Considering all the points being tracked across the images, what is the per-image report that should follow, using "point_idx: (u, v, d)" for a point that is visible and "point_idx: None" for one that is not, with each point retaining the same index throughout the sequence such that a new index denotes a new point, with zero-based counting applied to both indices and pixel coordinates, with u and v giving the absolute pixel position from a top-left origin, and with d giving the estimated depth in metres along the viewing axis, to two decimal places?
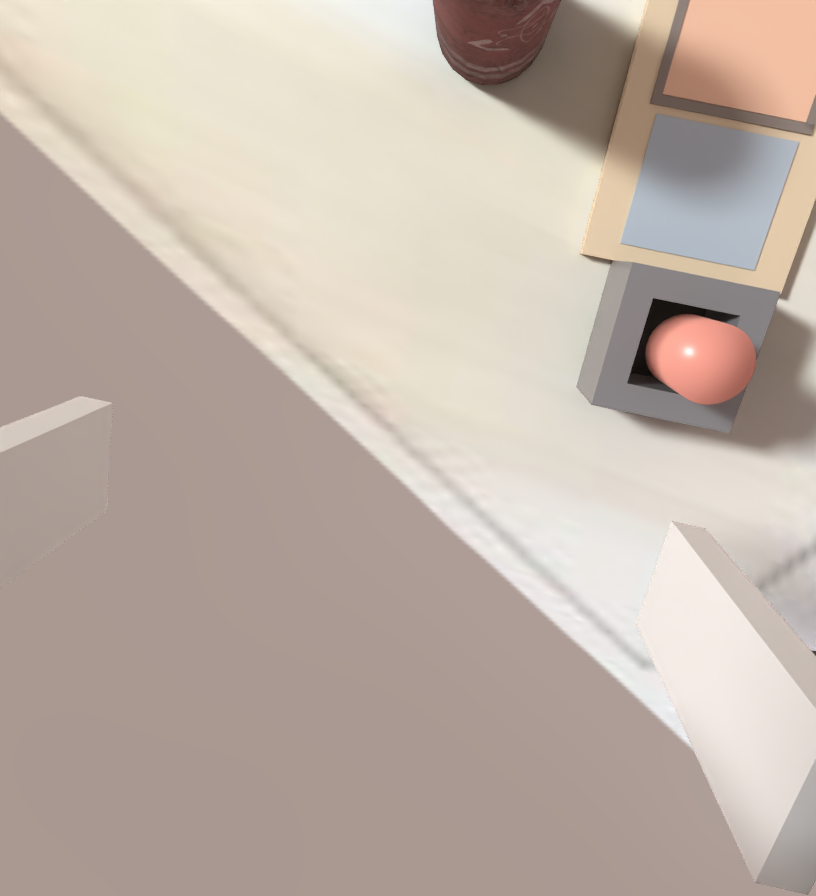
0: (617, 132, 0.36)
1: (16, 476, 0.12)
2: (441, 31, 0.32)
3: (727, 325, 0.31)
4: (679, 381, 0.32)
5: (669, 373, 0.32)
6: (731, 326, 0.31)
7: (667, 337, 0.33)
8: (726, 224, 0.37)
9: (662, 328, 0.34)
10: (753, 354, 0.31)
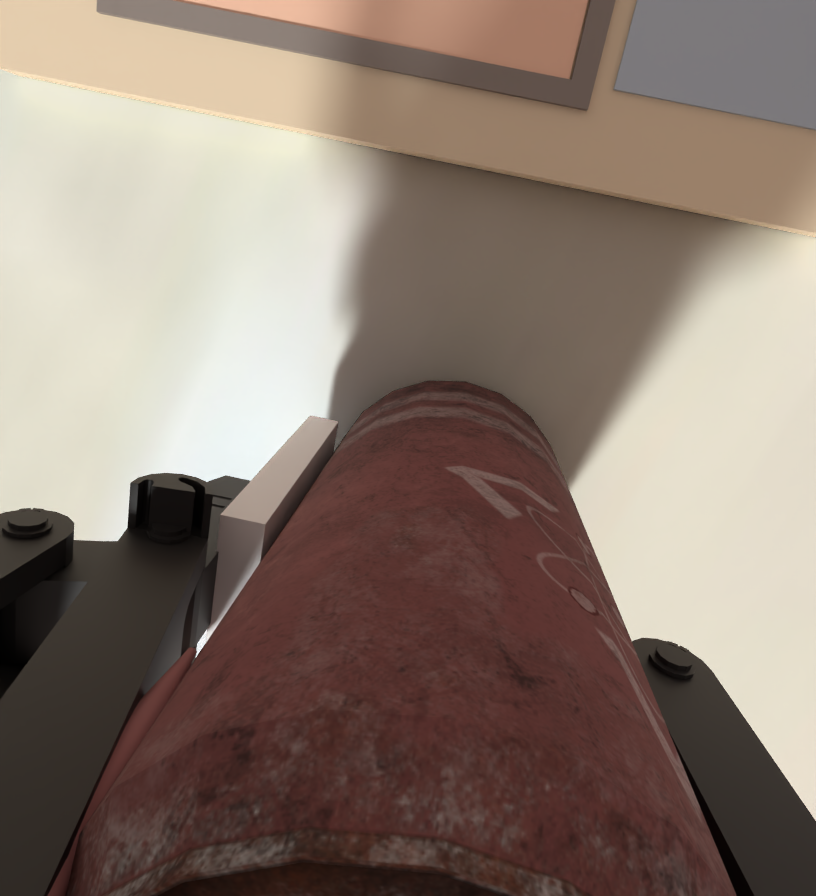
0: (645, 191, 0.15)
1: (305, 488, 0.14)
2: None
3: None
4: None
5: None
6: None
7: None
8: None
9: None
10: None
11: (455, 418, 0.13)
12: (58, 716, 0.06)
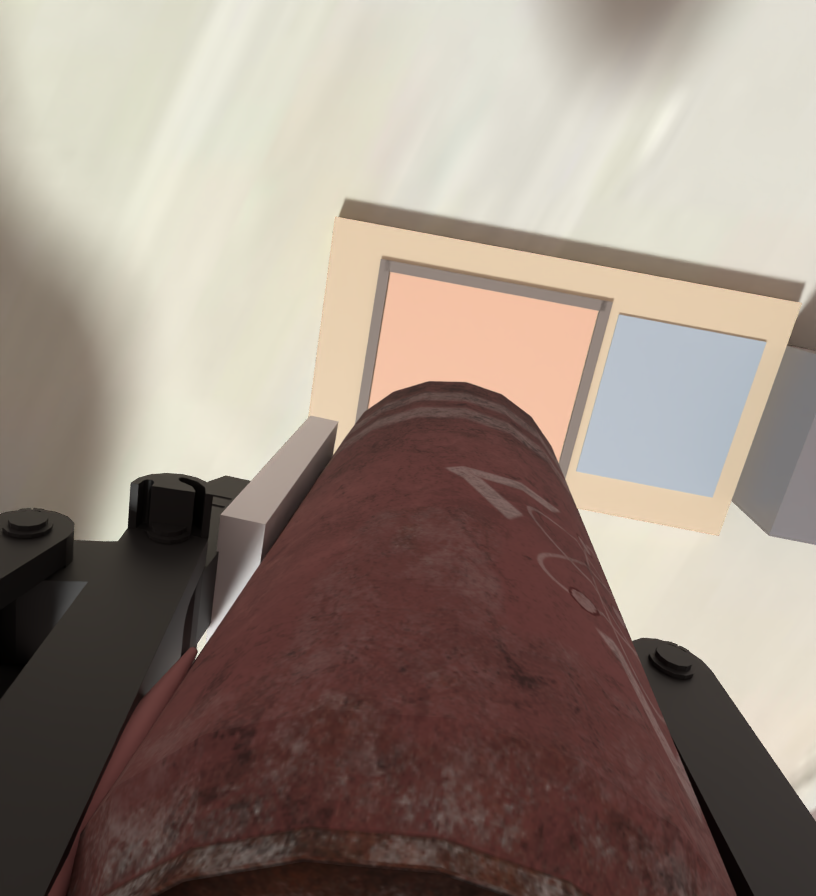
0: (591, 508, 0.33)
1: (305, 487, 0.14)
2: None
3: None
4: None
5: None
6: None
7: None
8: (705, 382, 0.31)
9: None
10: None
11: (456, 418, 0.13)
12: (58, 716, 0.06)
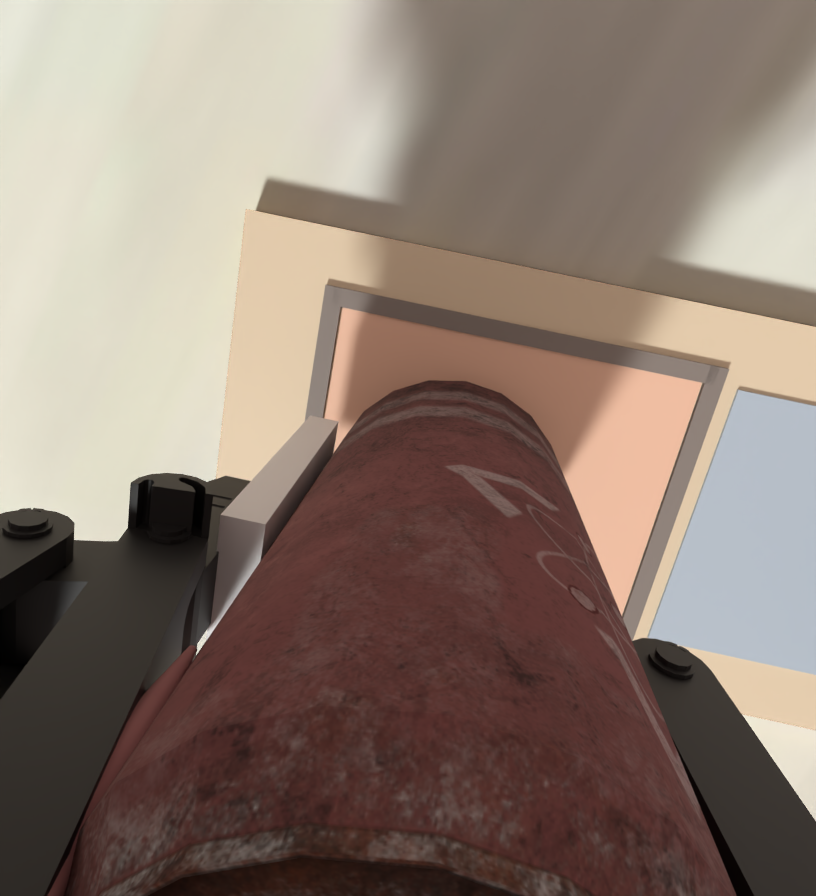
0: None
1: (305, 487, 0.14)
2: None
3: None
4: None
5: None
6: None
7: None
8: None
9: None
10: None
11: (456, 417, 0.13)
12: (58, 716, 0.06)
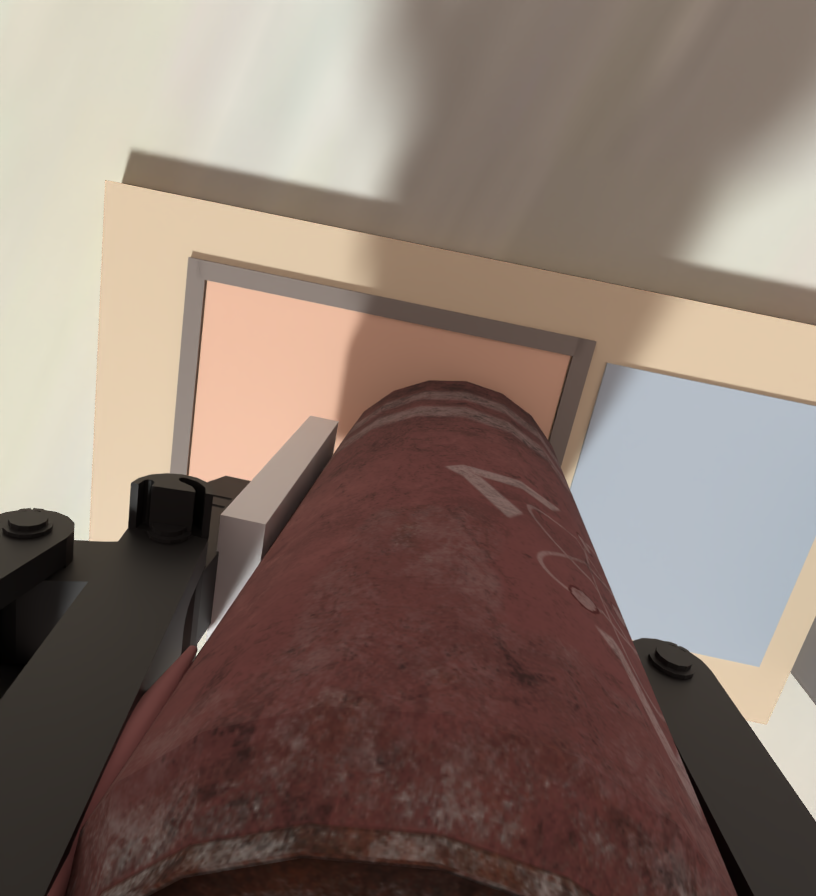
0: None
1: (305, 487, 0.14)
2: None
3: None
4: None
5: None
6: None
7: None
8: (755, 482, 0.18)
9: None
10: None
11: (456, 417, 0.13)
12: (58, 716, 0.06)
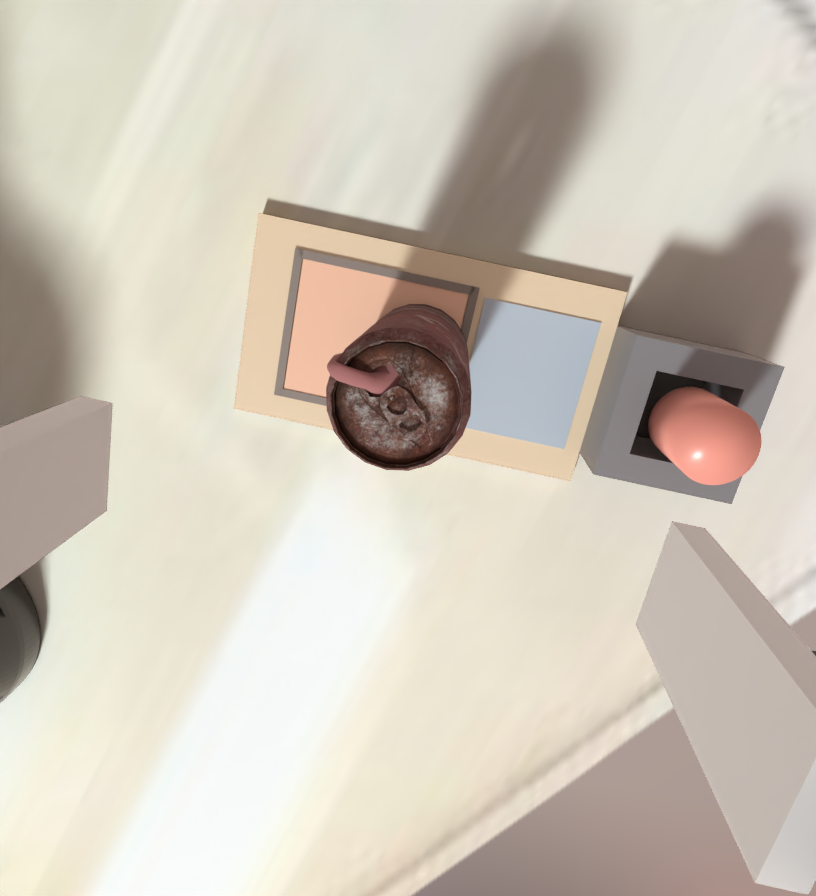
0: (468, 456, 0.41)
1: (16, 476, 0.12)
2: None
3: (679, 437, 0.31)
4: (731, 475, 0.31)
5: (721, 483, 0.32)
6: (680, 432, 0.31)
7: None
8: (554, 354, 0.39)
9: (663, 453, 0.35)
10: (712, 409, 0.31)
11: (419, 309, 0.34)
12: None
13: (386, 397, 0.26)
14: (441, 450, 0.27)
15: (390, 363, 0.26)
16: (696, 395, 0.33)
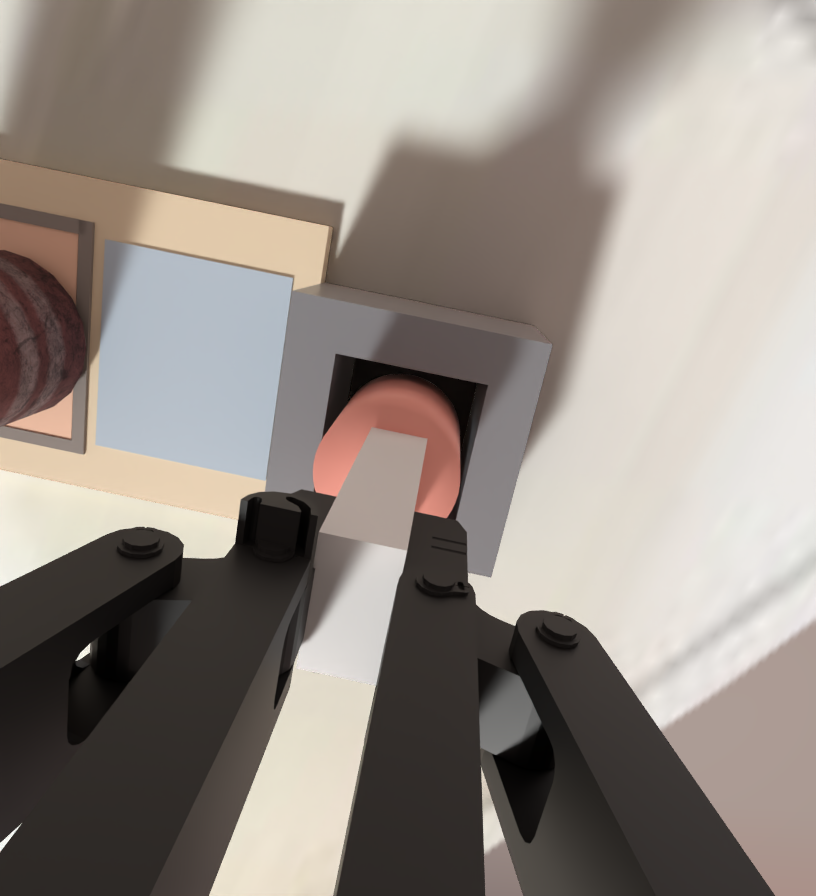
0: (125, 492, 0.27)
1: None
2: None
3: (316, 461, 0.17)
4: None
5: None
6: (318, 453, 0.17)
7: None
8: (228, 331, 0.24)
9: None
10: (365, 412, 0.17)
11: None
12: (161, 732, 0.06)
13: None
14: None
15: None
16: (380, 387, 0.19)
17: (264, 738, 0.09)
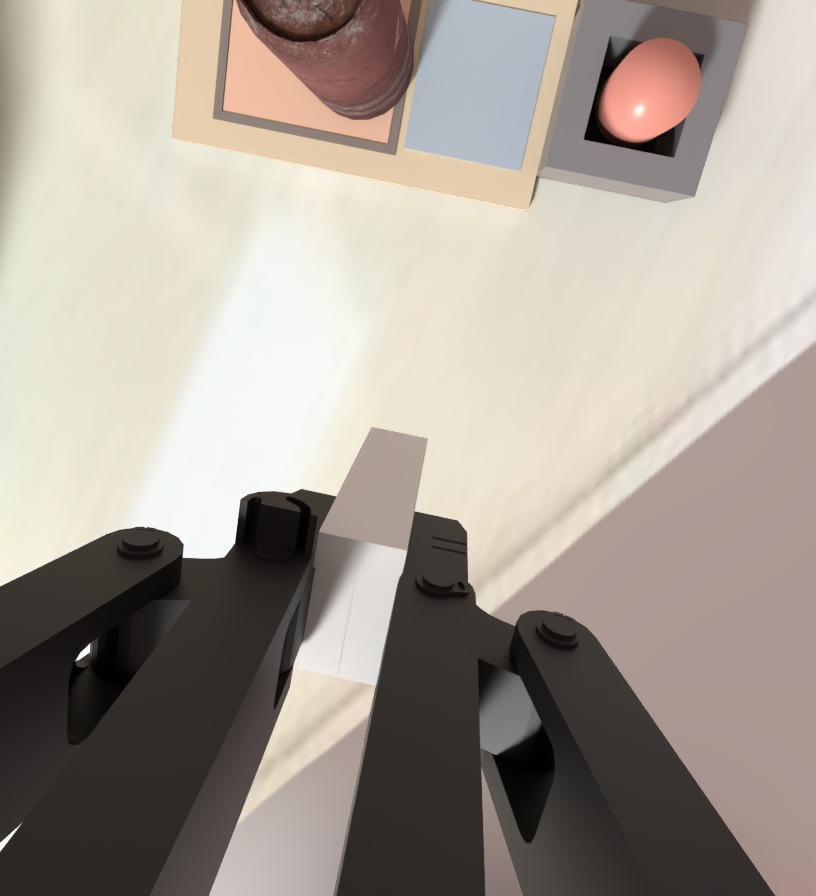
0: (419, 185, 0.39)
1: None
2: (376, 95, 0.33)
3: (617, 77, 0.30)
4: (671, 121, 0.31)
5: (662, 131, 0.31)
6: (618, 71, 0.30)
7: (621, 133, 0.33)
8: (507, 57, 0.36)
9: (609, 134, 0.34)
10: (650, 42, 0.30)
11: None
12: (160, 732, 0.06)
13: None
14: (353, 18, 0.24)
15: None
16: None
17: (264, 738, 0.09)
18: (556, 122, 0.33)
